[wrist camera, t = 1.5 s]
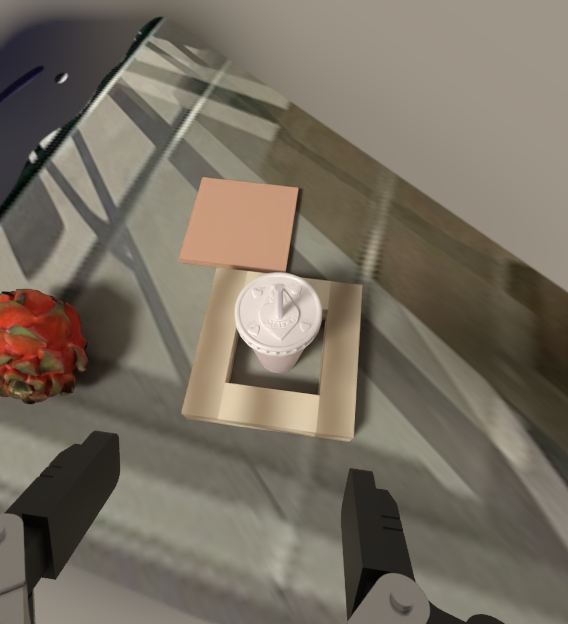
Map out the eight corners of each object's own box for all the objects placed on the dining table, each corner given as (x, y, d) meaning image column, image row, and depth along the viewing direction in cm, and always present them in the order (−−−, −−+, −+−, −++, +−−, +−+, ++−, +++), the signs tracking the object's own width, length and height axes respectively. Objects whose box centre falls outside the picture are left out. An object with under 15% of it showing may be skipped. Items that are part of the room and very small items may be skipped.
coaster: (298, 192, 45) (298, 187, 45) (285, 275, 41) (285, 271, 40) (203, 182, 46) (202, 177, 45) (180, 262, 41) (178, 258, 40)
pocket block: (357, 297, 40) (362, 285, 37) (348, 441, 34) (353, 437, 31) (220, 280, 40) (216, 267, 38) (187, 419, 34) (181, 413, 32)
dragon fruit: (80, 424, 36) (43, 331, 41) (128, 359, 33) (81, 269, 39) (-34, 437, 29) (-60, 323, 34) (15, 355, 26) (-21, 247, 32)
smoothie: (245, 390, 36) (226, 330, 23) (243, 324, 38) (225, 239, 26) (316, 384, 36) (336, 323, 23) (309, 320, 39) (323, 233, 26)
